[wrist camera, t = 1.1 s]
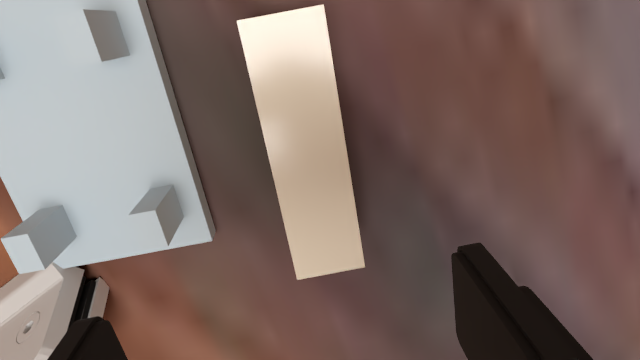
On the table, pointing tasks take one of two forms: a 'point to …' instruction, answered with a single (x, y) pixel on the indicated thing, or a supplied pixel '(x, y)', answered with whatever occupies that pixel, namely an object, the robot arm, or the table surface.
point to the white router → (45, 310)
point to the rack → (92, 136)
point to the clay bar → (304, 137)
